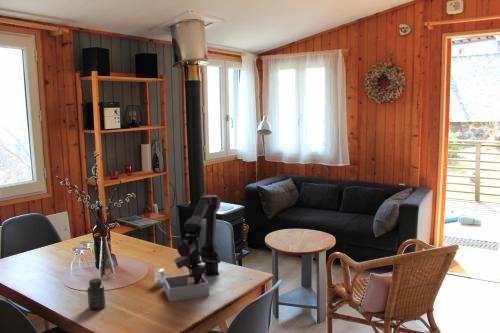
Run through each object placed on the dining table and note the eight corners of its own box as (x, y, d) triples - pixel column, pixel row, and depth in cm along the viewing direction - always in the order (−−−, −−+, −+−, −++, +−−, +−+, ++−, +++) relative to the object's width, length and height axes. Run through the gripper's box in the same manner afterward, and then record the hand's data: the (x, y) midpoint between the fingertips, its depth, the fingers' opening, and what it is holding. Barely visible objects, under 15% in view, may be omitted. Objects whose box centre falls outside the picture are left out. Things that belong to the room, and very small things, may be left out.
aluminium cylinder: (164, 281, 212) (164, 267, 211) (166, 285, 207) (166, 271, 206) (154, 282, 210) (153, 268, 209) (156, 287, 206) (155, 272, 205)
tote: (200, 283, 209) (200, 272, 208) (209, 295, 196) (208, 282, 195) (163, 289, 202) (163, 277, 201) (169, 302, 190) (169, 289, 189)
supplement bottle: (90, 304, 188) (89, 277, 187) (107, 303, 189) (105, 276, 187) (86, 311, 182) (84, 283, 180) (103, 310, 182) (101, 283, 181)
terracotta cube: (198, 286, 204) (197, 276, 203) (201, 290, 199) (200, 280, 198) (187, 288, 202) (187, 277, 201) (190, 292, 197) (189, 281, 196)
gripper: (171, 245, 203) (172, 277, 206) (180, 258, 186) (181, 293, 188) (194, 242, 207) (195, 274, 210) (205, 255, 190) (206, 289, 192)
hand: (194, 282), depth 200 cm, fingers open, 7 cm apart
